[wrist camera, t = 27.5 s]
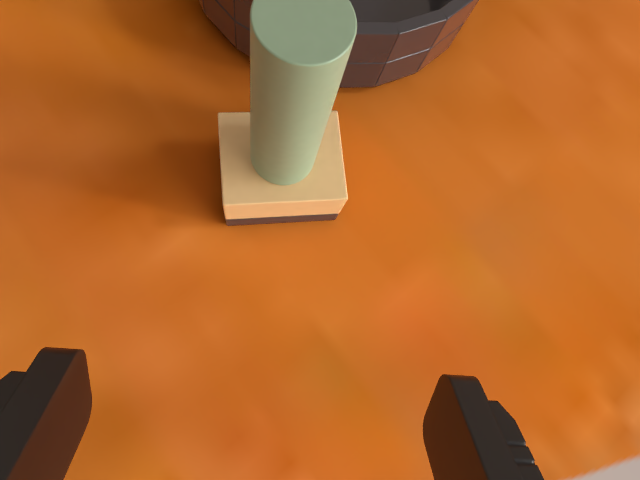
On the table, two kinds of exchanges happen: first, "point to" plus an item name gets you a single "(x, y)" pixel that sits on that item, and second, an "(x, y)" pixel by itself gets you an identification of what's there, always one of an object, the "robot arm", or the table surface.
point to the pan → (370, 34)
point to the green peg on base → (289, 116)
